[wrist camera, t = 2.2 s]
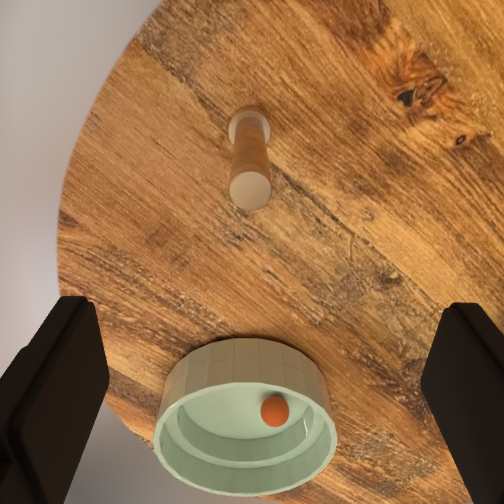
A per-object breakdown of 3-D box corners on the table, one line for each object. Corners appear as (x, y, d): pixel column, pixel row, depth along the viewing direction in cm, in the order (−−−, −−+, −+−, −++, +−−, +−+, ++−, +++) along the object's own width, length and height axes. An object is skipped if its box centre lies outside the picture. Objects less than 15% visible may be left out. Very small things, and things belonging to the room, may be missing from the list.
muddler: (228, 148, 30) (218, 220, 19) (228, 106, 28) (217, 159, 18) (269, 149, 30) (281, 221, 19) (271, 106, 28) (285, 160, 18)
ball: (259, 408, 43) (260, 433, 41) (260, 389, 42) (261, 414, 39) (287, 408, 43) (289, 433, 41) (289, 389, 42) (291, 414, 39)
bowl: (171, 444, 47) (162, 496, 42) (156, 333, 38) (142, 382, 33) (317, 444, 47) (326, 496, 42) (335, 334, 39) (349, 383, 34)
